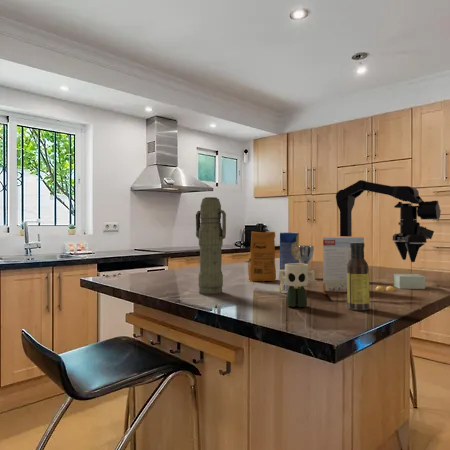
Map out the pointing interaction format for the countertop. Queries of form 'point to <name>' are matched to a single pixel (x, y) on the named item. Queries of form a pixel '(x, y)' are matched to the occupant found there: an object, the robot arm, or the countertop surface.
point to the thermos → (210, 245)
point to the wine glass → (306, 254)
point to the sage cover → (409, 281)
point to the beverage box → (288, 254)
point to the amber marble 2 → (390, 288)
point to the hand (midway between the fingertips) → (408, 260)
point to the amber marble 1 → (379, 288)
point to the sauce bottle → (357, 279)
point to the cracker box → (336, 262)
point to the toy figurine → (296, 283)
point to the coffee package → (262, 257)
